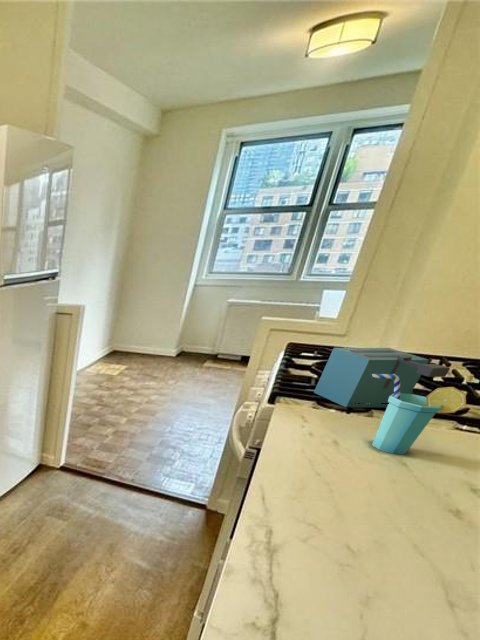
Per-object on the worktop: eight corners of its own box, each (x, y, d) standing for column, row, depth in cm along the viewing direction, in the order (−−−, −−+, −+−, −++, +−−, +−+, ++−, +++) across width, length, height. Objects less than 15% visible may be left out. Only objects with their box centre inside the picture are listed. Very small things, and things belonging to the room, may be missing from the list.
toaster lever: (405, 364, 112) (410, 355, 111) (445, 377, 104) (450, 368, 103) (390, 364, 112) (394, 355, 111) (428, 376, 104) (433, 368, 103)
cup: (342, 445, 99) (377, 376, 92) (336, 432, 105) (369, 366, 98) (436, 464, 93) (482, 391, 86) (424, 448, 98) (466, 378, 91)
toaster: (366, 392, 126) (391, 343, 120) (409, 410, 116) (438, 357, 110) (313, 392, 126) (335, 343, 120) (351, 410, 116) (377, 357, 110)
